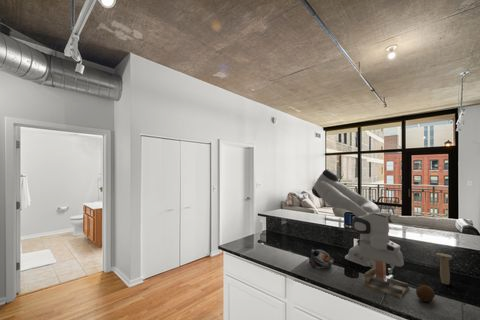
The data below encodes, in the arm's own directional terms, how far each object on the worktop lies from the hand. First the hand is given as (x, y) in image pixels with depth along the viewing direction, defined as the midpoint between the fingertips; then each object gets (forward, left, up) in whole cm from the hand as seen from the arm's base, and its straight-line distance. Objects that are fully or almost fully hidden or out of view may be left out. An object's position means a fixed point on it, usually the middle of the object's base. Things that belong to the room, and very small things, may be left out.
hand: (380, 269), depth 120 cm
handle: (+22, +28, -8) cm, 36 cm away
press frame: (+3, 0, -8) cm, 8 cm away
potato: (+19, 0, -8) cm, 20 cm away
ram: (+1, 0, -6) cm, 7 cm away
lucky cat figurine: (-33, -3, -8) cm, 34 cm away
